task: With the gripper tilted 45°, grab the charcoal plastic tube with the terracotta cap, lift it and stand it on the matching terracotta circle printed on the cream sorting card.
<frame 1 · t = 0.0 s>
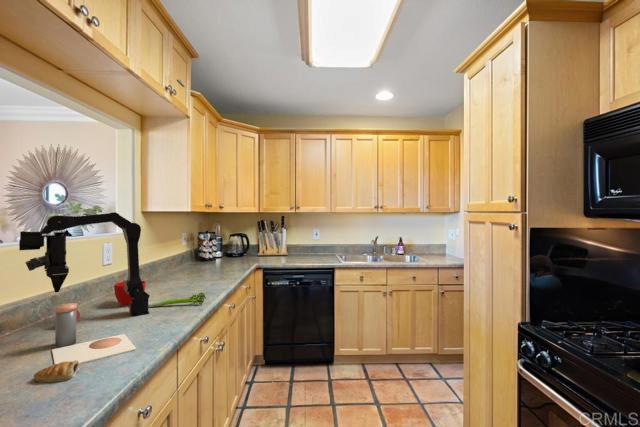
hand: (55, 289, 121), 15 cm above the countertop, tool pointing down, fingers open, 9 cm apart
ceramic cup: (128, 303, 155), on the countertop
onion: (70, 326, 124), on the countertop
tube: (65, 344, 107), on the countertop
celery: (173, 307, 151), on the countertop
sorting card: (94, 350, 102), on the countertop
pastry: (59, 378, 86), on the countertop
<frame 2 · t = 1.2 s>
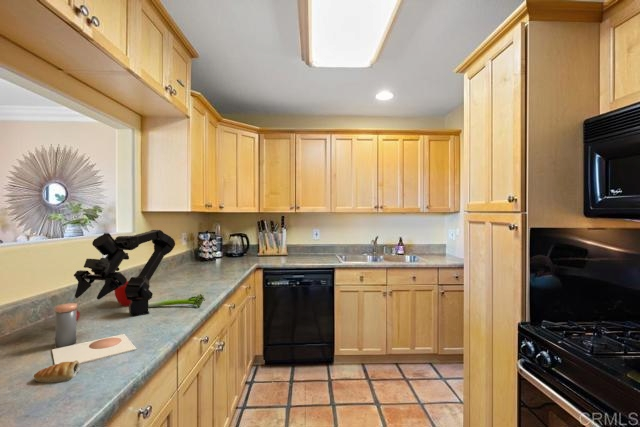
hand: (86, 298, 115), 13 cm above the countertop, tool tilted 45°, fingers open, 9 cm apart
celery: (172, 308, 150), on the countertop
everything else where it was.
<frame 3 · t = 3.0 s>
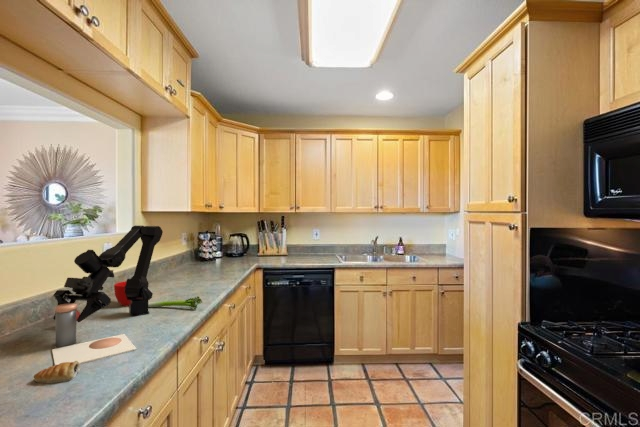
hand: (66, 320, 107), 8 cm above the countertop, tool tilted 45°, fingers open, 9 cm apart
celery: (170, 309, 148), on the countertop
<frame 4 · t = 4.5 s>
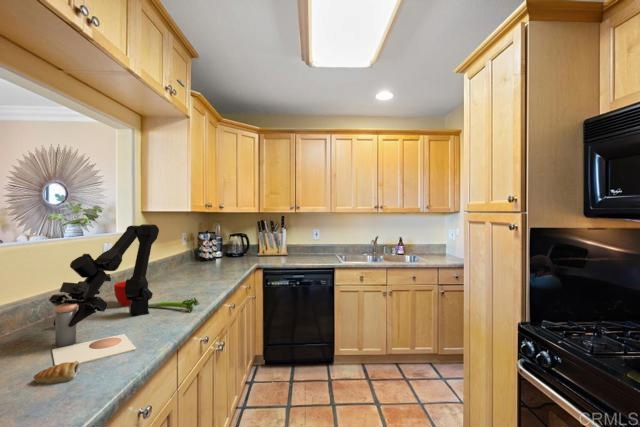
hand: (62, 326, 105), 7 cm above the countertop, tool tilted 45°, fingers closed on tube, 5 cm apart
tube: (65, 344, 107), on the countertop, touching gripper
celery: (168, 310, 147), on the countertop
everything else where it was.
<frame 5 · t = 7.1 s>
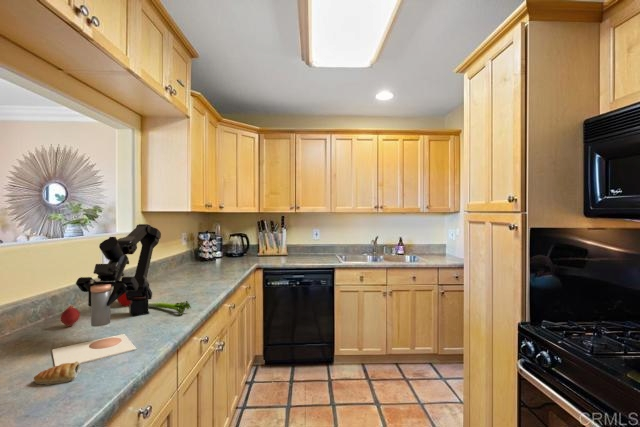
hand: (98, 305, 108), 12 cm above the countertop, tool tilted 45°, fingers closed on tube, 5 cm apart
tube: (100, 323, 110), point 6 cm above the countertop, touching gripper
celery: (164, 311, 145), on the countertop
when the fingers open (8 cm above the countertop, at t = 10.0 s): tube stays where it is, resting on sorting card.
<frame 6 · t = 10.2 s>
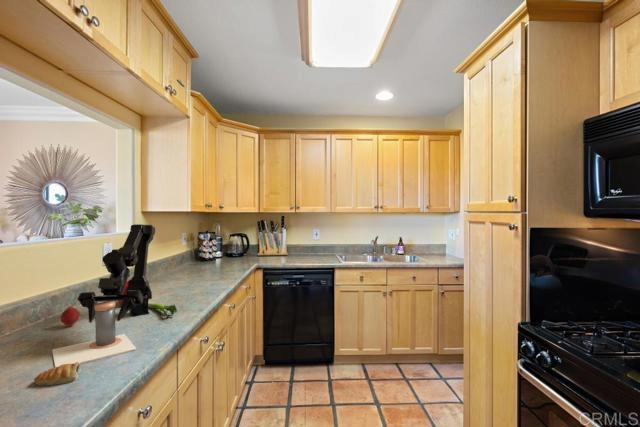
hand: (104, 321, 105), 8 cm above the countertop, tool tilted 45°, fingers open, 8 cm apart
tube: (105, 342, 107), point 1 cm above the countertop, touching sorting card
celery: (158, 313, 142), on the countertop
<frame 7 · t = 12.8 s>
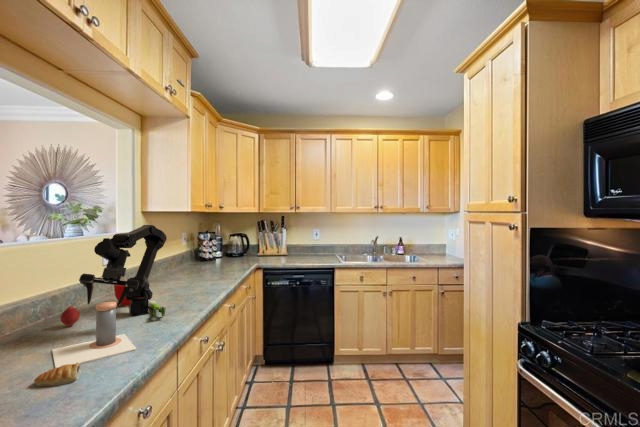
hand: (103, 305, 117), 10 cm above the countertop, tool tilted 25°, fingers open, 9 cm apart
celery: (154, 313, 142), on the countertop
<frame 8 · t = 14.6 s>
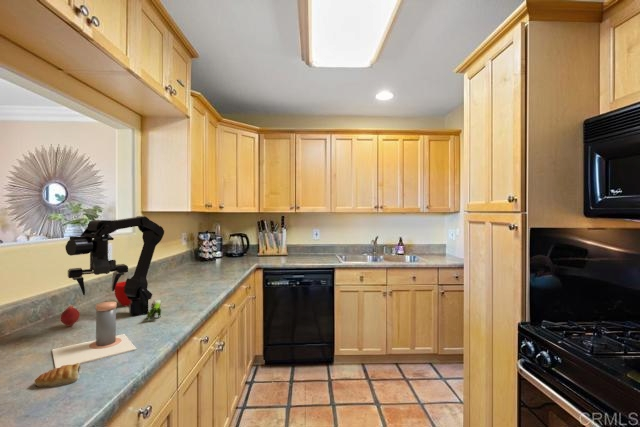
hand: (98, 293, 123), 13 cm above the countertop, tool pointing down, fingers open, 9 cm apart
at the end: tube 0.1 cm from the target spot, point 0.5 cm above the countertop; tube tilted 0°; the gripper is holding nothing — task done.
